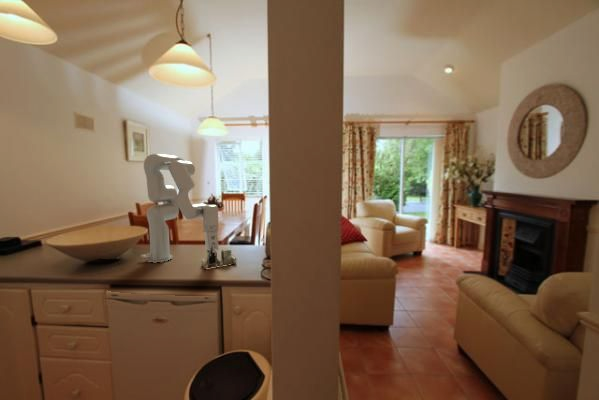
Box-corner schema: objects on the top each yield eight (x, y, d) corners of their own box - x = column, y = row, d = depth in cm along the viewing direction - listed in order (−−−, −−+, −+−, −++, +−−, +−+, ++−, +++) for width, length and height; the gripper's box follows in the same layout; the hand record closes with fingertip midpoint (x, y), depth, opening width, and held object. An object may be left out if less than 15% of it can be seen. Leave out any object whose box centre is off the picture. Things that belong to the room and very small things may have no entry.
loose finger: (208, 265, 128) (208, 252, 127) (206, 263, 131) (206, 250, 131) (217, 263, 130) (217, 251, 130) (215, 261, 134) (215, 249, 133)
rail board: (204, 270, 125) (204, 255, 124) (201, 265, 132) (201, 251, 131) (236, 264, 134) (236, 250, 133) (232, 260, 141) (232, 246, 140)
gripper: (222, 230, 124) (222, 265, 125) (214, 224, 138) (215, 256, 140) (206, 232, 120) (207, 268, 121) (200, 226, 134) (201, 258, 136)
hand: (211, 261), depth 130 cm, fingers closed on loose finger, 4 cm apart
